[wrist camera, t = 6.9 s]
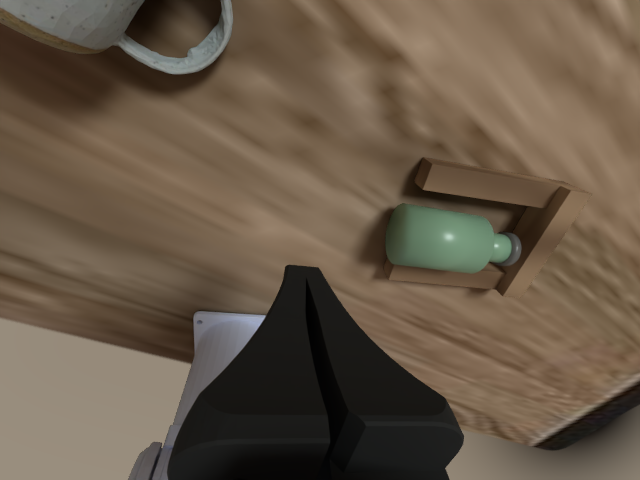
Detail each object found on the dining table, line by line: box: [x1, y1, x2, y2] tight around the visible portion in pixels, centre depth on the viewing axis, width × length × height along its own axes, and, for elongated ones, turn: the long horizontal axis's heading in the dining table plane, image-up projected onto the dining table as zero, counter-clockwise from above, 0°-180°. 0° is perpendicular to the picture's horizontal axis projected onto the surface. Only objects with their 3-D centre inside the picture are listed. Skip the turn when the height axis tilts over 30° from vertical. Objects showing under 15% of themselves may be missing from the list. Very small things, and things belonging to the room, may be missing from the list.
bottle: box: [385, 203, 522, 274], centre depth 22 cm, size 4×4×9 cm
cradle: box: [383, 157, 592, 298], centre depth 23 cm, size 10×12×2 cm
